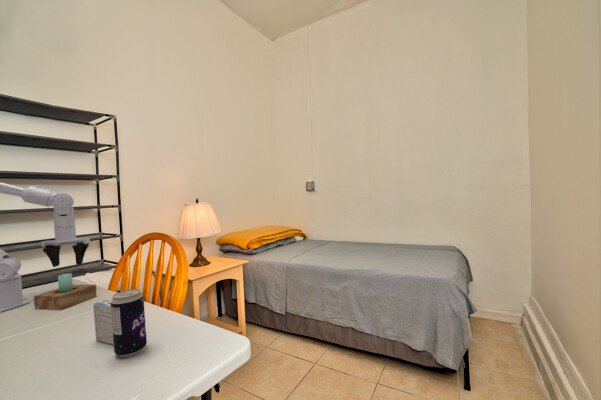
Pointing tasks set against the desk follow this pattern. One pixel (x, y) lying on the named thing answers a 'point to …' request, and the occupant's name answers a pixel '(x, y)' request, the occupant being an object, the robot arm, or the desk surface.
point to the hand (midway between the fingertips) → (67, 265)
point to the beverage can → (128, 322)
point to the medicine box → (103, 321)
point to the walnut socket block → (64, 297)
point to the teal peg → (65, 283)
